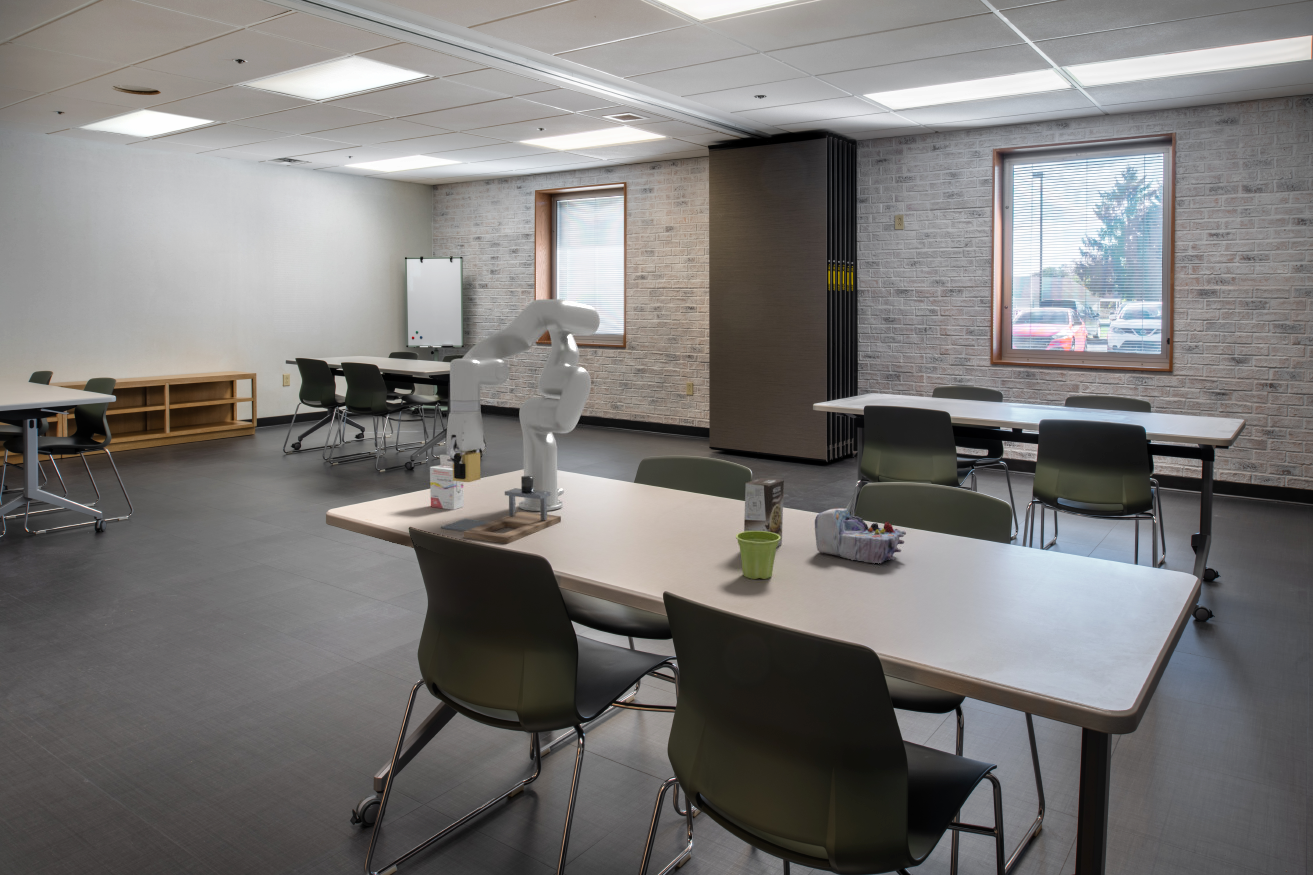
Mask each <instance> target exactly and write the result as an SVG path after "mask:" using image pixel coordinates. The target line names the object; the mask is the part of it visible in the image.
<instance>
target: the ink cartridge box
mask: <svg viewBox="0 0 1313 875" xmlns="http://www.w3.org/2000/svg"><path fill="white" fill-rule="evenodd" d="M449 460H452V459H451V458H450V456H449V455H448V454H439V461H440V464H439V465H433V466H430V467H429V478H430V479H429V480H430V481H429V485H430V486H429V487H430V488H429V490H430V491H429V492H430V507H431V508H439V509H445V510H452V511H454V510H458V509H460V508H463V507H464V506H465V504H464V503H465V501H464V500H465V499H464V498H465V497H464V492H465V491H464V482H461V481H453V463H452V461H449Z"/></svg>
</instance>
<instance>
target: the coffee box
mask: <svg viewBox="0 0 1313 875" xmlns="http://www.w3.org/2000/svg"><path fill="white" fill-rule="evenodd" d="M784 481H785V480H784V479H778V478H764V477H760V478H757V479H754V480H751V481H748V482H745V491H744V492H745V493H744V518H743V519H744V525H743V532H746V531H766V532H772V533H775V534H778V535H779V536H780V537H781V538H780V540H779V541H778V545H777V547H779V546H782V545H783V520H784V519H783V518H784V517H783V516H784V487H785V486H784ZM777 547H776V548H777Z"/></svg>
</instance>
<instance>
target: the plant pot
mask: <svg viewBox="0 0 1313 875" xmlns="http://www.w3.org/2000/svg"><path fill="white" fill-rule="evenodd" d="M735 538H736V539H737V542H738V543H737V544H738V546H739V551H740V559H741V560H740V561H741V569H742V574H743V576H744V577H745V578H748V579H751V580H756V579H762V580H766V579H770V578H771V577H772V575H773V571H774V565H775V558H776V552H777V545H778V541H779V540H780V538H781V537H780V536H779V535H778V534H775V533H772V532H766V531H746V532H744V531H741V532H739V533H737V534H736V535H735Z"/></svg>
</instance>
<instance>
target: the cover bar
mask: <svg viewBox="0 0 1313 875" xmlns="http://www.w3.org/2000/svg"><path fill="white" fill-rule="evenodd" d="M520 485H521V488H518V487H517V488H515V487H514V488H512V489H508V490H505V491H504V496H508V513H509V514H508V516H516V513H517V512H516V497H518V498H524V497H525V498H534V499H540V511H539V512H540V513H539V514H541V520H547V515H548V511H547V497H548V496H551V492H546V491H537V490H534V477H533V476H524V475H522V476H521V482H520Z"/></svg>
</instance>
